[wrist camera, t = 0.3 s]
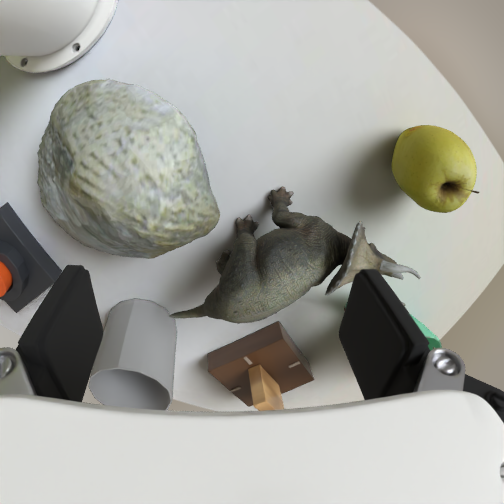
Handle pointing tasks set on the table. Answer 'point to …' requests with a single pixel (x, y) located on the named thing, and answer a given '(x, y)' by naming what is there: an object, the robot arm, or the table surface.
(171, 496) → the robot arm
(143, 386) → the cup
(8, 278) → the button
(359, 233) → the toy dinosaur
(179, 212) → the decorative stone
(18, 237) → the button box
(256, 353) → the walnut panel
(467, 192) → the apple
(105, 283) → the table surface
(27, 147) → the table surface
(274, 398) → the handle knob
